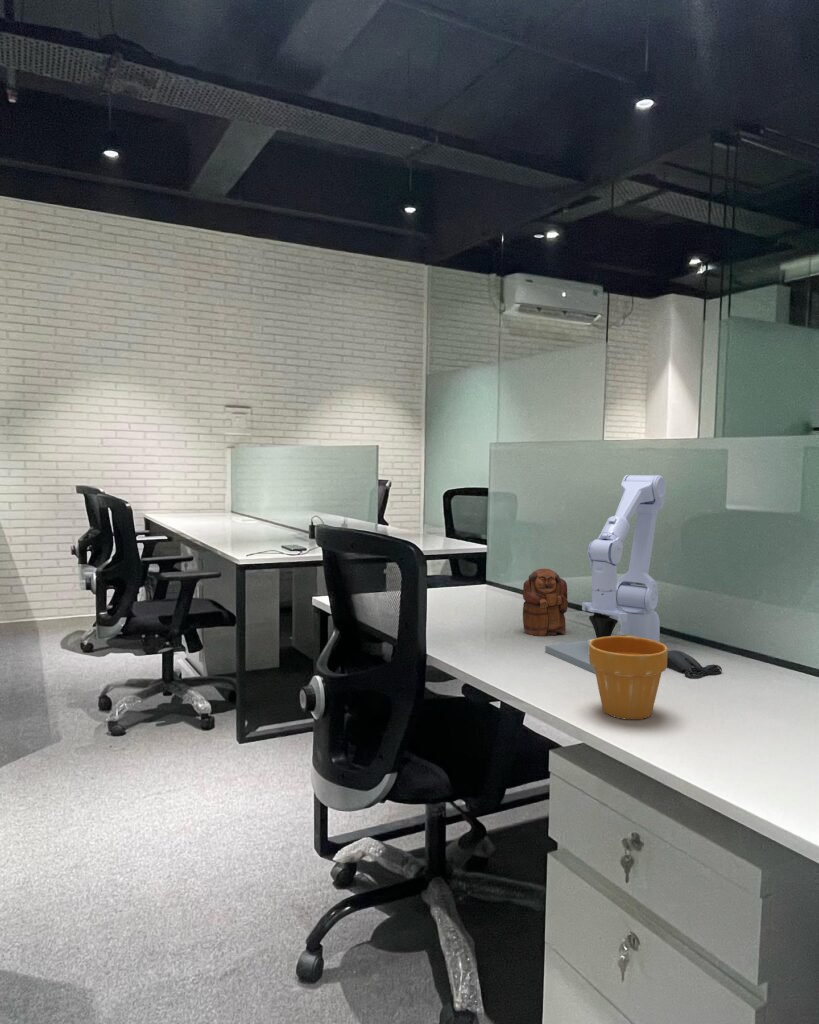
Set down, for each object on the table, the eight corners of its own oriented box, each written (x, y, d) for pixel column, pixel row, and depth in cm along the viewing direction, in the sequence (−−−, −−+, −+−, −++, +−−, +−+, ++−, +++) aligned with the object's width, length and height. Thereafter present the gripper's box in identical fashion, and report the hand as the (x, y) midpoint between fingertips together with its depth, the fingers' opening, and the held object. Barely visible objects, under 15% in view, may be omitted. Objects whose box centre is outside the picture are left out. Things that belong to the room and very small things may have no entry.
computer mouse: (676, 659, 173) (676, 643, 173) (725, 675, 160) (726, 658, 160) (644, 664, 169) (644, 648, 169) (692, 681, 156) (692, 664, 156)
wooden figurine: (528, 637, 194) (529, 571, 193) (521, 631, 200) (521, 567, 199) (570, 635, 196) (570, 570, 195) (561, 629, 202) (561, 566, 201)
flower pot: (621, 730, 126) (623, 658, 125) (573, 705, 139) (573, 640, 138) (683, 718, 132) (684, 649, 131) (630, 696, 145) (631, 632, 144)
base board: (597, 645, 185) (597, 631, 185) (664, 670, 163) (664, 654, 163) (545, 651, 179) (545, 637, 178) (607, 678, 157) (607, 662, 156)
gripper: (572, 585, 177) (571, 640, 178) (610, 595, 163) (609, 654, 164) (595, 583, 179) (594, 637, 180) (634, 593, 166) (633, 651, 167)
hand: (603, 645), depth 172 cm, fingers closed
